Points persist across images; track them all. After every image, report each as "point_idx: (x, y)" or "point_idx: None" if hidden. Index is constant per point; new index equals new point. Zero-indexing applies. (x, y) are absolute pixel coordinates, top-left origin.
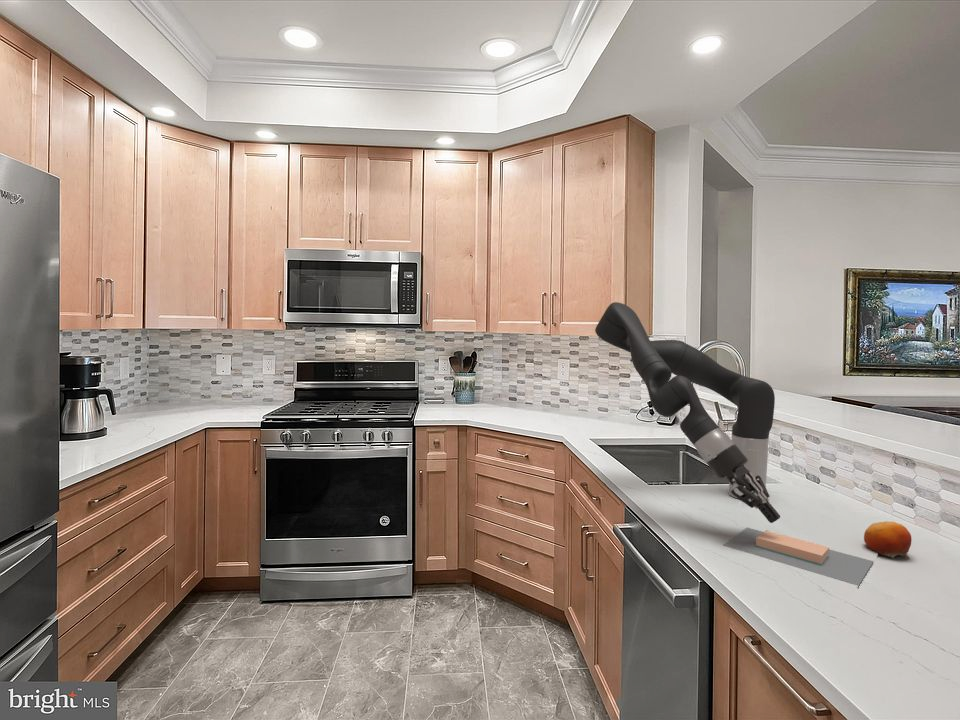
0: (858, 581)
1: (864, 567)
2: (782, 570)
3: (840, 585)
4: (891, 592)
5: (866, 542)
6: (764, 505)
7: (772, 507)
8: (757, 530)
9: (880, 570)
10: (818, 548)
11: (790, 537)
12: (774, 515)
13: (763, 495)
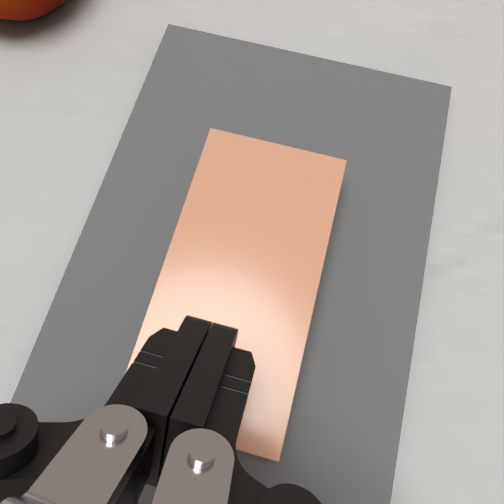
0: (411, 83)
1: (255, 54)
2: (462, 327)
3: (457, 140)
4: (401, 18)
5: (16, 10)
6: (230, 444)
7: (174, 370)
8: None
9: (220, 21)
10: (257, 168)
11: (165, 282)
12: (231, 354)
13: (106, 475)
